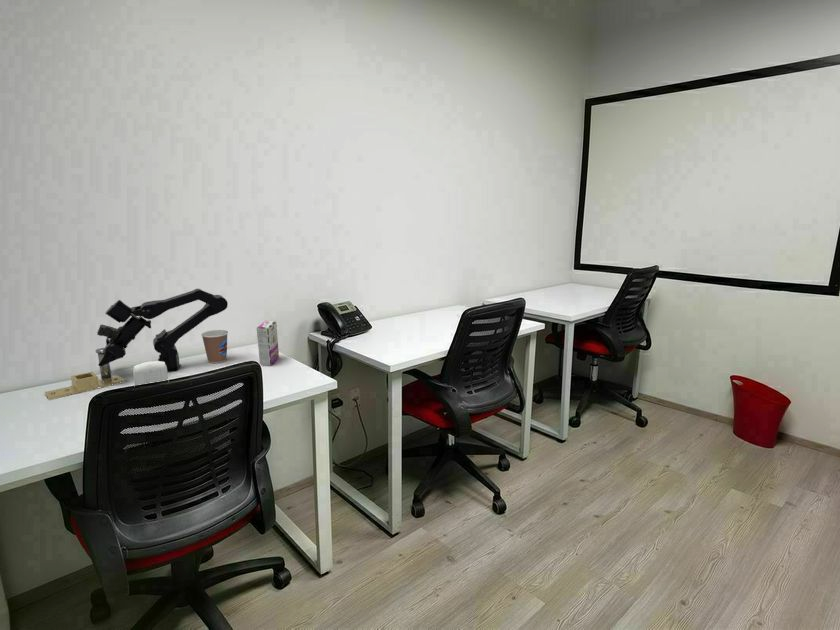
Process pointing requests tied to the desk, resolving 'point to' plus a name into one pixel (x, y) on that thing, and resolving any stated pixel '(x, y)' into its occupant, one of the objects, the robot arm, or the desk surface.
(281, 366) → the desk surface
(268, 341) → the candy bar box
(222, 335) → the coffee cup
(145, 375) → the photo printer
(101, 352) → the hinge pin
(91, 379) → the brass socket plate
